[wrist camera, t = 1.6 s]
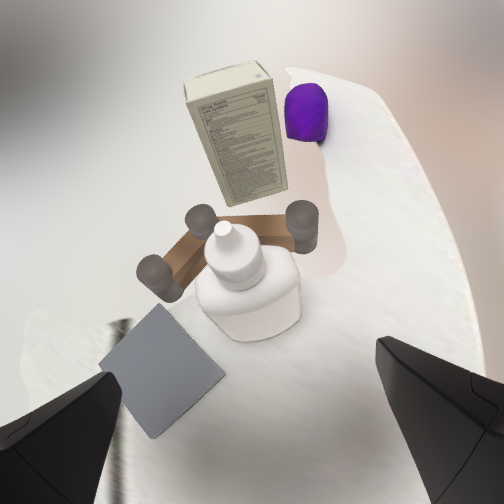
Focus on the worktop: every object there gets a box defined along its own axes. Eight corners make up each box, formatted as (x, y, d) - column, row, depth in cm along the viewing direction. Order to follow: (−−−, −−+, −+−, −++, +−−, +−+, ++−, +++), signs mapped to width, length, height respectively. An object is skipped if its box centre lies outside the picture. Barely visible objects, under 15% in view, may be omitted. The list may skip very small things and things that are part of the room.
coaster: (154, 438, 17) (150, 439, 17) (102, 365, 21) (98, 363, 20) (225, 374, 19) (223, 373, 19) (162, 305, 23) (159, 302, 22)
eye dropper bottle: (294, 352, 19) (286, 292, 9) (220, 338, 21) (141, 268, 11) (304, 296, 21) (304, 190, 11) (234, 286, 23) (179, 183, 13)
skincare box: (275, 162, 29) (258, 57, 19) (289, 192, 27) (276, 77, 16) (218, 179, 29) (181, 78, 19) (226, 210, 27) (184, 101, 16)
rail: (212, 355, 20) (193, 344, 17) (151, 286, 24) (128, 266, 21) (322, 239, 24) (325, 210, 20) (252, 193, 27) (244, 163, 24)
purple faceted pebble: (328, 70, 32) (327, 117, 24) (328, 100, 36) (326, 158, 28) (293, 69, 33) (277, 115, 25) (296, 99, 37) (281, 155, 29)
